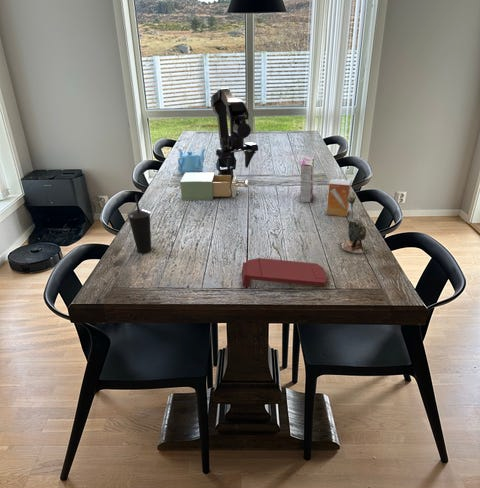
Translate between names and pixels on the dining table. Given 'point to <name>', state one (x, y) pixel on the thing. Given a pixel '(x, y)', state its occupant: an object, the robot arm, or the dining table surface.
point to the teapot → (190, 162)
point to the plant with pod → (355, 232)
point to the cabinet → (197, 186)
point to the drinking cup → (141, 228)
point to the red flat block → (283, 272)
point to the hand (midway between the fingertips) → (238, 169)
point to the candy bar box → (307, 179)
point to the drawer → (225, 185)
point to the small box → (338, 197)
